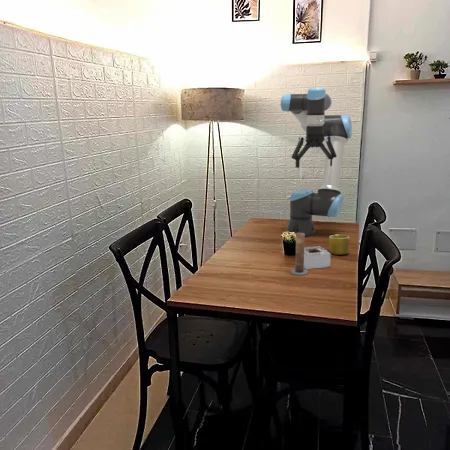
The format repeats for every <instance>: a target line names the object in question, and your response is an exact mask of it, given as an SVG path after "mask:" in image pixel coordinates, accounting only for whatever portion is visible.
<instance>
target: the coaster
mask: <svg viewBox="0 0 450 450" xmlns="http://www.w3.org/2000/svg"><path fill="white" fill-rule="evenodd" d="M308 270H309V269H305V268H304V271H303V272H301V273H299V272H296V271H295V267H294V268H292V269H290V274H292V275H294V276H300V277H301V276H306V275H308V273H309V272H308Z"/></svg>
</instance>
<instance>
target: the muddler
mask: <svg viewBox="0 0 450 450" xmlns="http://www.w3.org/2000/svg"><path fill="white" fill-rule="evenodd" d="M305 237H306V236H305V233H296V236H295V259H294V260H295V265H294V266H295V267H294V268H295V271H296V272H299V273H301V272H303V271H304V269H305V268H304V247H305V239H306V238H305Z"/></svg>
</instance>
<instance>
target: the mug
mask: <svg viewBox="0 0 450 450" xmlns="http://www.w3.org/2000/svg"><path fill="white" fill-rule="evenodd" d="M350 240H351V239H350V236H349V235H346V234H338V233H337V234H336V233H335V234H333V235H329V237H328V246H329V247H328V248H329V253H331V255H336V256H340V255H341V256H342V255H347V254H349V252H350Z"/></svg>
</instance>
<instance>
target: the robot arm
mask: <svg viewBox="0 0 450 450" xmlns="http://www.w3.org/2000/svg"><path fill="white" fill-rule="evenodd" d="M331 97H332V96H330V95H329V94H327V93H326V89H325V88H324V87H312V88H308V89H307V93H288V94H282V96H281V98H280V108H281V111H282V112H291V114H292V115H293V116H294V117H295V118H296V119H297V120H298V122H300V126H301V128H302V129H303V131H305V135H306V136H305V137H301V136H299V137H298V143H297V145H296V147H295V148H294V151H293V153H292V155H291V159H293V160H295V168H296V171H297V172H296V175H297V176H299V177H300V176H302V160H301V158H303V156H304V155H305V154H306V153H307V151H308V150H309V149H310V148H320V150H321V152H323V153H324V155H325V157H324V165H323V173H322V179H321V186H320V187H319V188H318V189H317V192H316V193H315V192H314V190H313V189H308V188H307V189H299V190H294V191H292V192H291V194H290V199H289V221H288V223H287V226H286V231H289V232H295V233H305V237H311V236H313V235H315V234H316V228H315V225H314V222H313V216H316V217H317V216H319V217H320V216H321V217H328V218H337V217H338V216H339V215H340V213H341V211H342V208H343V204H344V195H342V194H341V193H342V191H341V190H340V188H339V185H340V177H341V170H342V163H343V154H344V148H345V144H346V143H348V139H350V138H352V135H353V132H352V131H353V130H352V129H353V128H352V119H351V117H350V115H346V114H345V115H344V114H329V115H328V114H326V115H325V113H326V112H325V111H327V110H328V109H330V108H331V106H332V103H333V102H332V98H331ZM305 142H306V143H305ZM323 142H326V143H325V144H326V146H325V144H324V143H323ZM304 143H305V145H304ZM303 145H304V147H303ZM302 147H303V148H302Z"/></svg>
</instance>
